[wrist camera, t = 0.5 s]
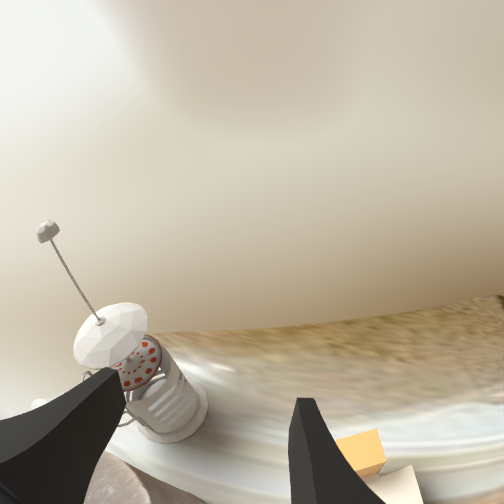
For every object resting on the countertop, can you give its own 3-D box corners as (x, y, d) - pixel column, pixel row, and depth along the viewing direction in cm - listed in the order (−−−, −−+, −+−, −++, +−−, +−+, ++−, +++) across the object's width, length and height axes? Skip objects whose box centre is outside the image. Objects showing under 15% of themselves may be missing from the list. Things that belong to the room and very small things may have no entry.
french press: (222, 388, 32) (125, 184, 19) (174, 470, 24) (-10, 292, 11) (160, 366, 37) (63, 195, 23) (113, 432, 28) (-32, 270, 15)
